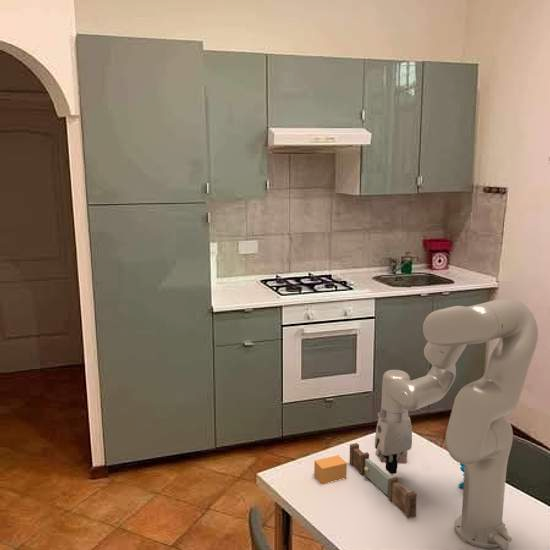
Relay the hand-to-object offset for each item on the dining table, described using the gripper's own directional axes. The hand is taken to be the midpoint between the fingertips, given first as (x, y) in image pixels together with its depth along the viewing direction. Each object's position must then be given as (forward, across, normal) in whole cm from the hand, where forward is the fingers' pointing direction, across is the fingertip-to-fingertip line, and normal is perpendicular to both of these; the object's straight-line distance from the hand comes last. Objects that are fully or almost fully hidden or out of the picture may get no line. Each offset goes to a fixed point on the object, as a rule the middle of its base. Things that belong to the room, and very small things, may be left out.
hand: (391, 471), depth 169 cm
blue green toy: (+2, +18, -13) cm, 23 cm away
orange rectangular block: (+3, -16, +8) cm, 18 cm away
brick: (+3, +10, +14) cm, 18 cm away
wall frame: (+2, -5, -3) cm, 6 cm away
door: (+2, -6, -2) cm, 7 cm away
